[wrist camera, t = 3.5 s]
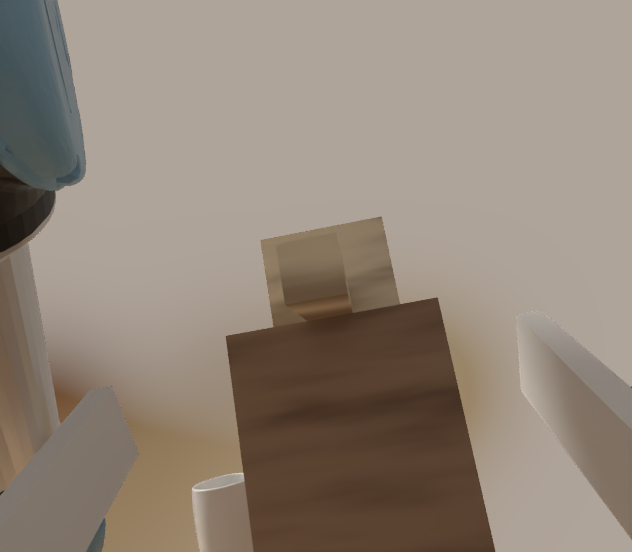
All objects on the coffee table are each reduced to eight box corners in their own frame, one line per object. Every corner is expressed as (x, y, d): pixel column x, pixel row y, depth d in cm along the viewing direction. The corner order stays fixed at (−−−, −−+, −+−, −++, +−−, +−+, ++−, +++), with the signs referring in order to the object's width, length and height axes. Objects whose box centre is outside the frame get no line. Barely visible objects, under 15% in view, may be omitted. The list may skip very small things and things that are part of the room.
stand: (557, 827, 24) (437, 297, 29) (292, 853, 25) (225, 336, 30) (473, 623, 42) (409, 323, 48) (323, 642, 43) (278, 346, 49)
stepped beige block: (433, 277, 21) (393, 103, 23) (203, 319, 22) (182, 148, 24) (396, 323, 46) (379, 237, 47) (288, 343, 46) (275, 257, 48)
